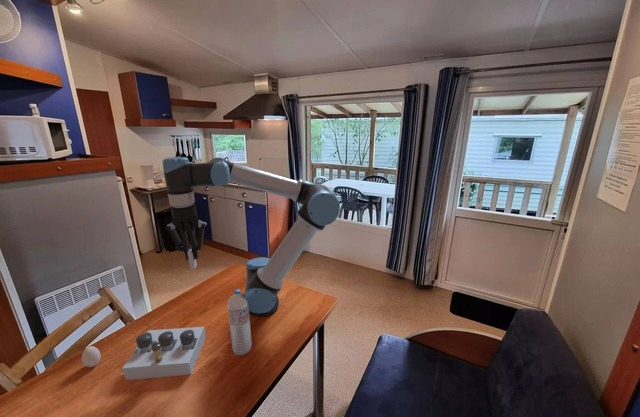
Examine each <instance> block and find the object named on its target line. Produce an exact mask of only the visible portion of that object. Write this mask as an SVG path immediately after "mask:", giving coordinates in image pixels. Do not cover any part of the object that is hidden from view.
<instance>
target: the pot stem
mask: <svg viewBox="0 0 640 417" xmlns="http://www.w3.org/2000/svg"><path fill="white" fill-rule="evenodd" d="M151 349H152V351H153V352H154V357H155V361H156V363H159V362H161V361H162V360H163V358H162V353H161V343H160V342H157V343H154V344H153V345H152V346H151Z"/></svg>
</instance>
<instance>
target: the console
mask: <svg viewBox="0 0 640 417" xmlns="http://www.w3.org/2000/svg"><path fill="white" fill-rule="evenodd" d="M186 330H193V331H194V336H195V339H194V341H193V344H194V349H188V350H184V345H182V344H181V341H180V335H181V333H183V332H184V331H186ZM167 331H171V332H172V333H173V337H174V341H173V342H172V345H173V350H172V351H163V348H162V347H161V353H162V358H163V360H162V361H161V362H159V363H156V361H155V357H154V352H153V351H152V350H151V352H148V353H142V352H141V348H138V347H137V346H136V348H135V349H134V351H133V352H132V354H131V355H130V357H128V360H127V361H126V363H125V364H124V365H123V367H122V372H123V375H124V379H125V381H132V380H143V379H154V378H164V377H167V378H169V377H176V376H188V375H189V376H190V375H192V374H193V371H194V368H195V366H196V363H197V361H198V359H199V356H200V354H201V350H202V348H203V345H204V343H205V340H206V338H207V336H206V328H205V326H195V327H193V326H191V327H182V328H181V327H179V328H178V327H177V328H165V329H151V330H150V329H149V330H148V331H147V332H146V333H151V335H152V340H153V341H152V343H151V346H152V345H153V344H154V343H157V342H159V341H158V337H159V336H160V335H161V334H162V333H164V332H167Z"/></svg>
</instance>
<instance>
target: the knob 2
mask: <svg viewBox="0 0 640 417" xmlns="http://www.w3.org/2000/svg"><path fill="white" fill-rule="evenodd" d="M194 339H195V336H194V331H193V330H186V331H184V332H183V333H181V335H180V341H181V344H182V345H184V350H188V349H194V344H193V341H194Z"/></svg>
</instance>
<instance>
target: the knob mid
mask: <svg viewBox="0 0 640 417" xmlns="http://www.w3.org/2000/svg"><path fill="white" fill-rule="evenodd" d="M158 341H159V342H160V343H161V347H162V348H163V351H172V350H173V345H172V342H173V341H174V337H173V333H172V332H171V331H167V332H164V333H162V334H161V335H160V336H159V337H158Z"/></svg>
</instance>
